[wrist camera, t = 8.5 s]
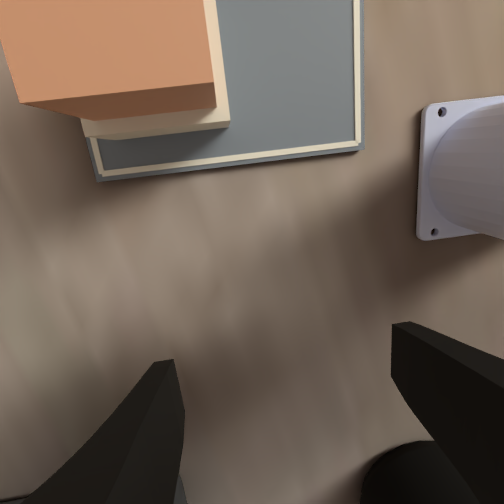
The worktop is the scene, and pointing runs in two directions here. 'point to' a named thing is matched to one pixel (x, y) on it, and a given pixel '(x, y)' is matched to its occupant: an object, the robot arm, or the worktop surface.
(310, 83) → the board
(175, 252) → the worktop surface
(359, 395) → the worktop surface
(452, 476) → the coffee jar
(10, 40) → the terracotta block
